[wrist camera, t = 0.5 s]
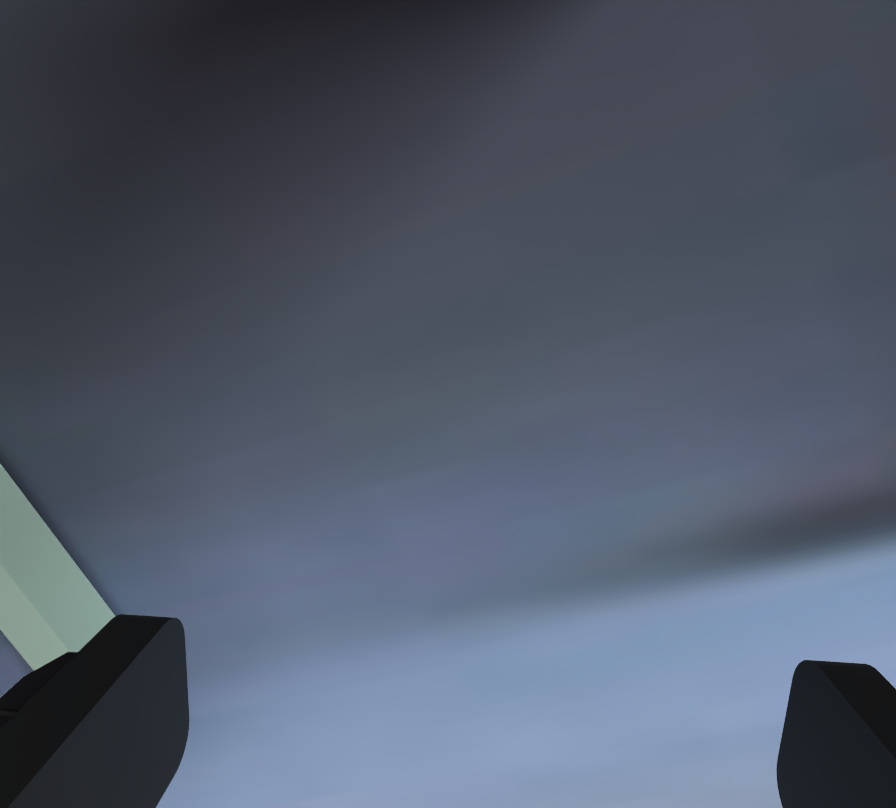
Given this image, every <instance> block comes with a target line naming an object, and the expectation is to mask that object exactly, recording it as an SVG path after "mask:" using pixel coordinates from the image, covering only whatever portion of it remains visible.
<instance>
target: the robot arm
mask: <svg viewBox="0 0 896 808" xmlns="http://www.w3.org/2000/svg"><path fill="white" fill-rule="evenodd" d="M188 730H189V706H188V688H187V669H186V651H185V635H184V628H183V625H182V623H181V621H180V620H179V619H177V618H169V617H154V616H138V615H123V614H121V615H117V616H115V617H114V618H112V619H111V620H110V621H109V622H108V623H107V624H106V625H105V626H104V627H103V628H102V629H101V630H100V631H99V632H98V633H97V634H96V635H95V636H94V637H93V638H92V639H91V640H90V641H89V642H88V643H87V644H86V645H85V646H84V647H83V648H82V649H81V650H80V651H79V652H67V653H65V654H63V655H61V656H60V657H58V658H56V659H54V660H52V661H51V662H49V663H47V664H45V665H44V666H42V667H40V668H38V669H36V670H35V671H33V672H31V673H29V674H28V675H26V676H24V677H23V678H22V679H21V680H20V681H19V682H18V683H16V684H15V685H14V686H13V687H12V688H11V689H10V690H9V691H8V692H7V693H6V694H5V695H3V696H2V697H1V698H0V808H156V806H157V804H158V803H159V801H160V799H161V797H162V796H163V794H164V792H165V791H166V789H167V787H168V786H169V784H170V782H171V780H172V779H173V777H174V775H175V773H176V771H177V769H178V767H179V765H180V762H181V760H182V757H183V753H184V750H185V746H186V742H187V737H188ZM777 783H778V790H779V795H780V799H781V803H782V806H783V808H896V689H895V688H894V687H893V686H892V685H891V684H890V683H889V682H888V681H887V680H886V679H885V678H884V677H883V676H882V675H881V674H880V673H879V672H878V671H877V670H876V669H875V668H874V667H872V666H870V665H867V664H858V663H842V662H827V661H811V660H804V661H802V662H801V663H799V664H798V666H797V667H796V669H795V672H794V675H793V679H792V685H791V690H790V696H789V701H788V706H787V712H786V717H785V722H784V728H783V733H782V739H781V744H780V749H779V755H778V761H777Z"/></svg>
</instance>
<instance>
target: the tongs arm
mask: <svg viewBox="0 0 896 808" xmlns="http://www.w3.org/2000/svg"><path fill="white" fill-rule="evenodd" d="M114 617H115V615H114V614H113V612H112V611H111V610H110V608H109V607H108V606H107V604H106V603H105V602H104V600H103V599H102V598H101V596H100V595H99V594H98V592H97V591H96V590H95V588H94V587H93V586H92V584H91V583H90V582H89V580H88V579H87V578H86V576H85V575H84V574H83V573H82V571H81V570H80V569H79V567H78V566H77V565H76V563H75V562H74V561H73V559H72V558H71V557H70V555H69V554H68V553H67V551H66V550H65V549H64V547H63V546H62V545H61V543H60V542H59V541H58V539H57V538H56V537H55V535H54V534H53V533H52V531H51V530H50V529H49V527H48V526H47V525H46V523H45V522H44V521H43V519H42V518H41V517H40V515H39V514H38V513H37V512H36V510H35V509H34V508H33V506H32V505H31V504H30V502H29V501H28V500H27V498H26V497H25V496H24V494H23V493H22V492H21V490H20V489H19V488H18V486H17V485H16V484H15V482H14V481H13V480H12V478H11V477H10V476H9V474H8V473H7V472H6V470H5V469H4V468H3V466H2V465H1V464H0V630H1V631H2V632H3V634H4V635H5V636H6V637H7V638H8V640H9V641H10V642H11V643H12V645H13V646H14V647H15V648H16V650H17V651H18V652H19V653H20V654H21V656H22V657H23V658H24V659H25V661H26V662H27V663H28V664H29V665H30V667H31V668H32V669H33V670H34V671H35V670H36V669H38V668H40V667H42V666H44V665H45V664H47V663H49V662H51V661H52V660H54V659H56V658H58V657H60V656H61V655H63V654H65V653H67V652H79V651H80V650H81V649H82V648H83V647H84V646H85V645H86V644H87V643H88V642H89V641H90V640H91V639H92V638H93V637H94V636H95V635H96V634H97V633H98V632H99V631H100V630H101V629H102V628H103V627H104V626H105V625H106V624H107V623H108V622H109V621H110V620H111V619H112V618H114Z"/></svg>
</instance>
